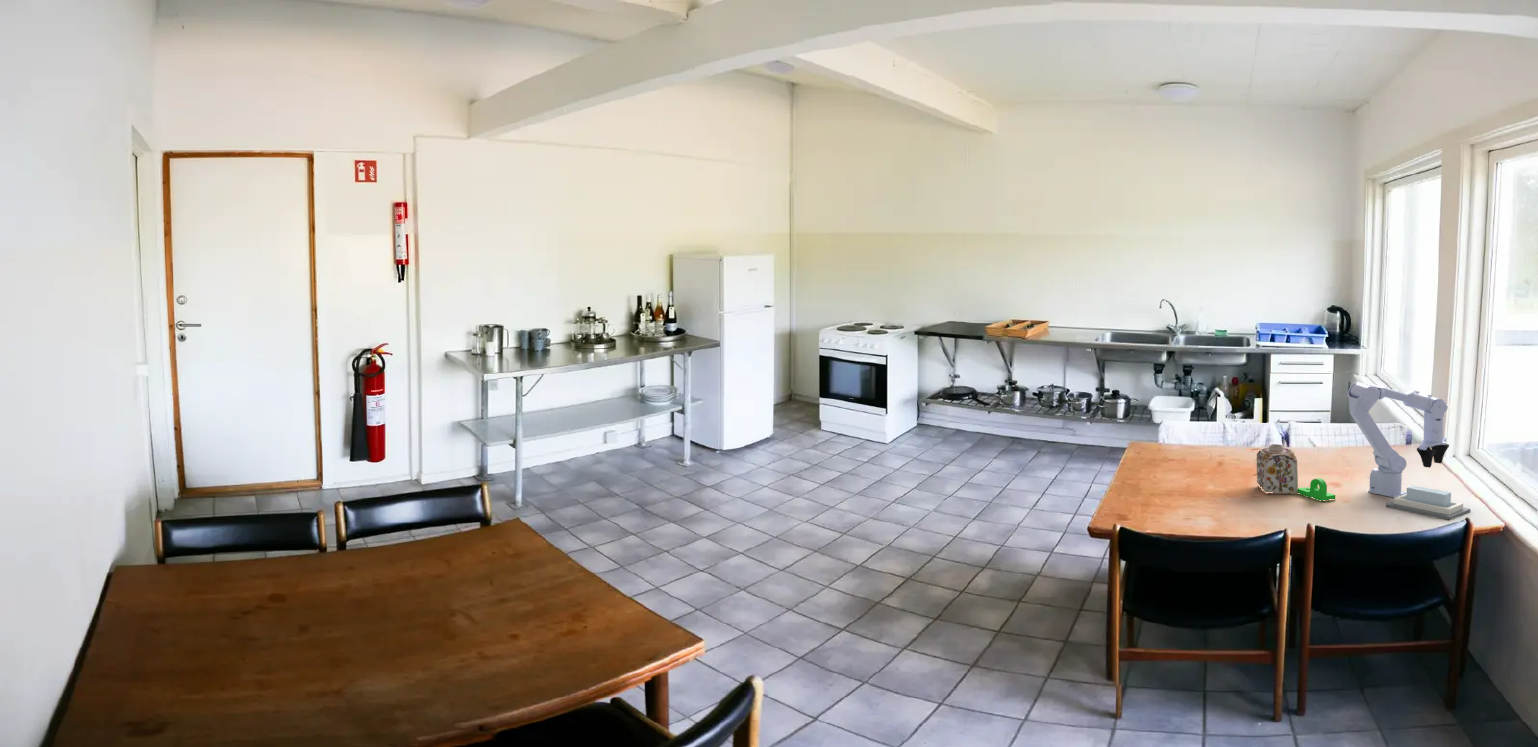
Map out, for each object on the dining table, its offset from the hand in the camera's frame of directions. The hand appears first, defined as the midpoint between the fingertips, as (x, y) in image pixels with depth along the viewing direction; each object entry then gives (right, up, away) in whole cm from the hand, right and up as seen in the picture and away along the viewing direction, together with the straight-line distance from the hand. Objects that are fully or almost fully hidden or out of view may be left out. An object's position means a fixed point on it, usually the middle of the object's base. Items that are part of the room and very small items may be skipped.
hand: (1432, 465), depth 330 cm
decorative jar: (-49, -12, +16) cm, 53 cm away
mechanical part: (-40, -13, +5) cm, 43 cm away
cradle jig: (-14, -14, -16) cm, 25 cm away
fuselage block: (-14, -13, -16) cm, 25 cm away
